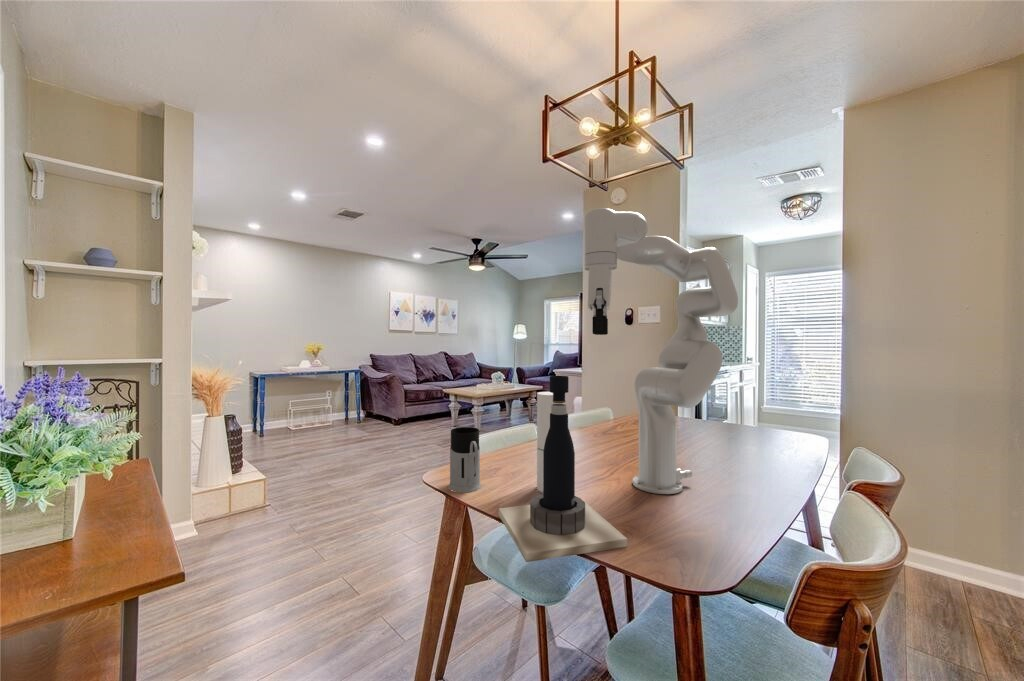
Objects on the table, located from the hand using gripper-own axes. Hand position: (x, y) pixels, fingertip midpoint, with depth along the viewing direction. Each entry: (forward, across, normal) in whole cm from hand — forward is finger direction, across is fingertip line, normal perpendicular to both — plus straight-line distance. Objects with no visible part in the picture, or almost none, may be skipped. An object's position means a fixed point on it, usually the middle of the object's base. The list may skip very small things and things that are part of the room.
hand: (600, 334), depth 98 cm
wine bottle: (+39, +16, -8) cm, 43 cm away
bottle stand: (+40, +16, -8) cm, 44 cm away
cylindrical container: (+40, -6, -13) cm, 43 cm away
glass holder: (+40, 0, -34) cm, 53 cm away
